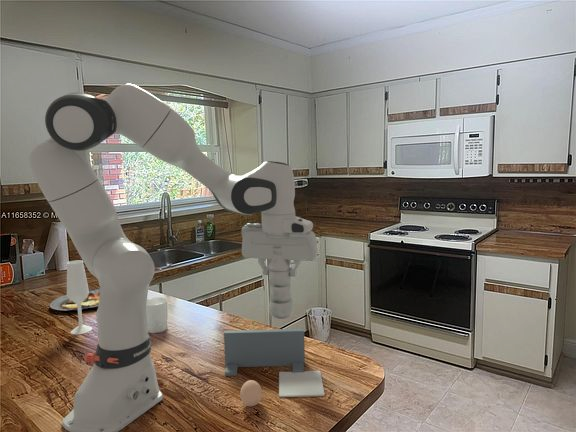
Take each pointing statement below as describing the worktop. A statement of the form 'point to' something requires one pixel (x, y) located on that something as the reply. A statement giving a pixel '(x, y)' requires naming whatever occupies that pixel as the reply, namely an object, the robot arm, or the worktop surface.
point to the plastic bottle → (280, 285)
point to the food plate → (89, 302)
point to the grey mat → (300, 384)
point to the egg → (251, 393)
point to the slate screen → (264, 349)
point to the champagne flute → (77, 291)
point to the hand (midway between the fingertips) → (279, 275)
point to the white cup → (156, 314)
